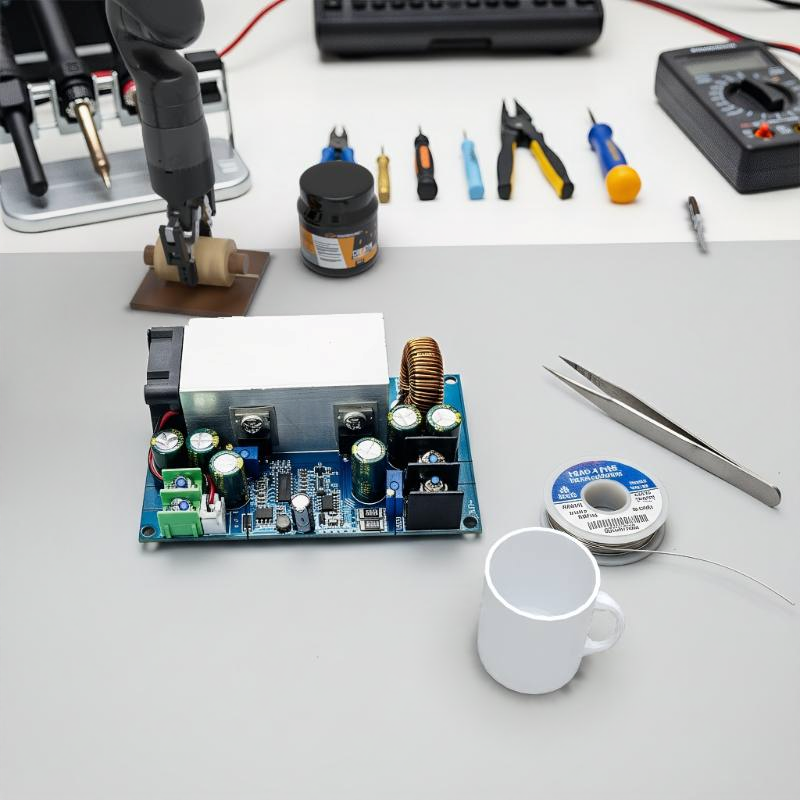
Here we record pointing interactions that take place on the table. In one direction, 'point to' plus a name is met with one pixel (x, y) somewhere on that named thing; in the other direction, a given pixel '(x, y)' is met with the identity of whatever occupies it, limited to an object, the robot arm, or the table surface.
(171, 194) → the robot arm
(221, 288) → the pastry board
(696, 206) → the pocket knife
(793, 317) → the table surface
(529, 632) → the mug
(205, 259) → the rolling pin
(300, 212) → the supplement container
